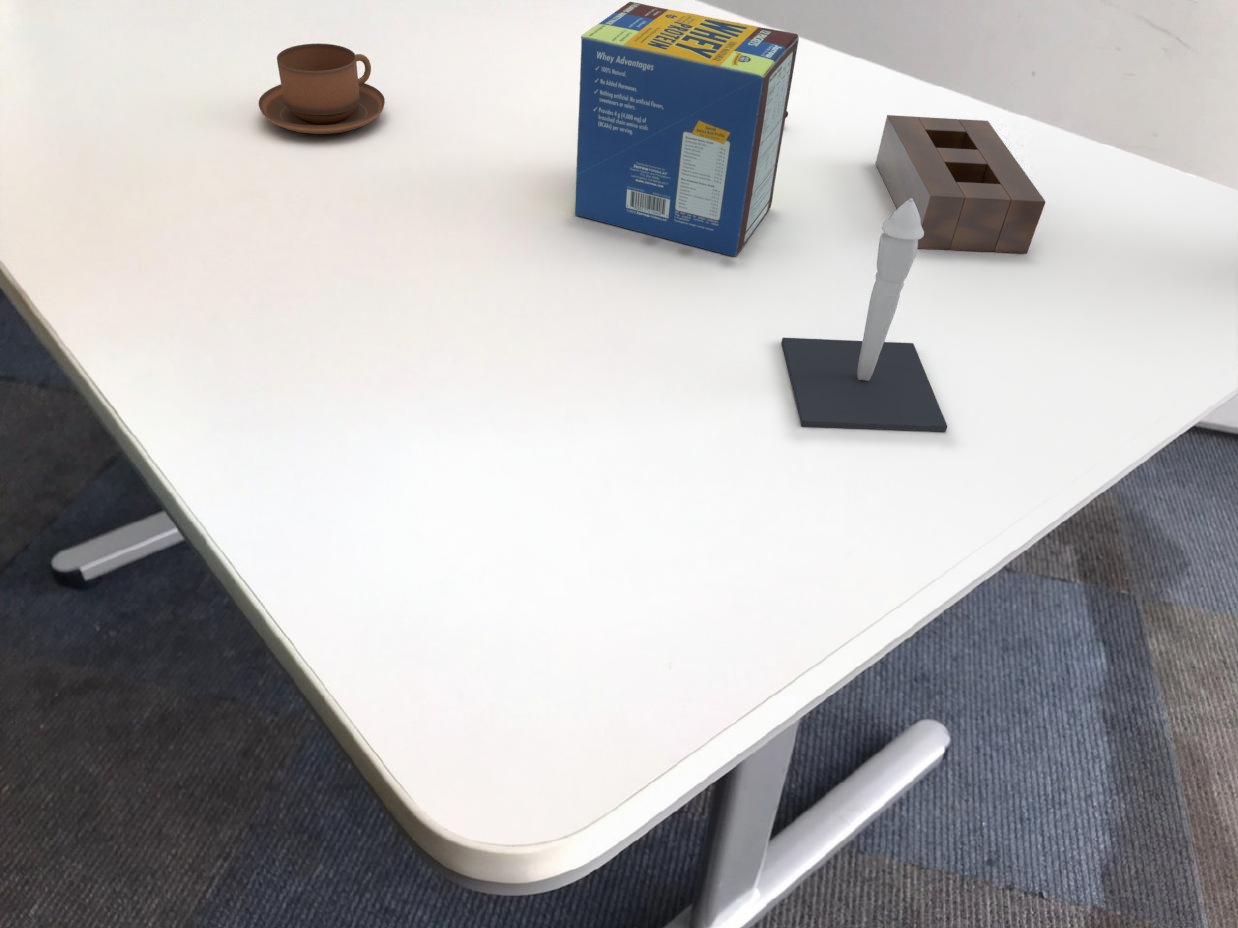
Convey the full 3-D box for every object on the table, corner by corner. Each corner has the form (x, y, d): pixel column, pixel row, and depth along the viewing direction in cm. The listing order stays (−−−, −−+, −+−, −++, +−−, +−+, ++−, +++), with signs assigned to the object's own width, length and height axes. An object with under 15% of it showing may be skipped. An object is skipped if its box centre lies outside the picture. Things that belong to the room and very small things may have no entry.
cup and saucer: (306, 88, 107) (298, 27, 103) (408, 110, 104) (403, 49, 100) (236, 129, 98) (224, 65, 94) (344, 155, 96) (336, 90, 92)
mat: (911, 348, 77) (913, 342, 77) (945, 432, 70) (948, 426, 69) (781, 342, 77) (782, 337, 76) (801, 426, 69) (802, 420, 69)
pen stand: (973, 168, 102) (988, 120, 99) (1027, 254, 90) (1046, 201, 86) (875, 163, 102) (887, 114, 98) (915, 248, 89) (930, 195, 86)
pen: (882, 391, 72) (935, 210, 63) (844, 387, 72) (891, 205, 63) (879, 371, 74) (930, 191, 64) (842, 366, 74) (888, 187, 65)
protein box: (617, 170, 97) (628, -1, 87) (772, 208, 93) (802, 33, 83) (570, 216, 89) (577, 34, 79) (737, 259, 86) (766, 74, 75)
